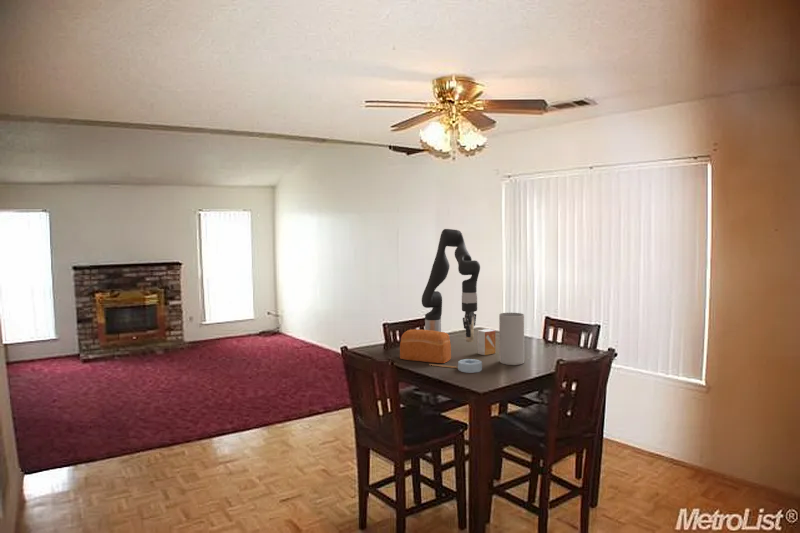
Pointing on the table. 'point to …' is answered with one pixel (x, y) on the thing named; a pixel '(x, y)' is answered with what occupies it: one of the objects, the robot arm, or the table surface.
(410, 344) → the bread
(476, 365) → the bead
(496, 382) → the table surface
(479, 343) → the small box
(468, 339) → the dowel
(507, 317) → the cylinder vase
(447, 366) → the wooden stick
